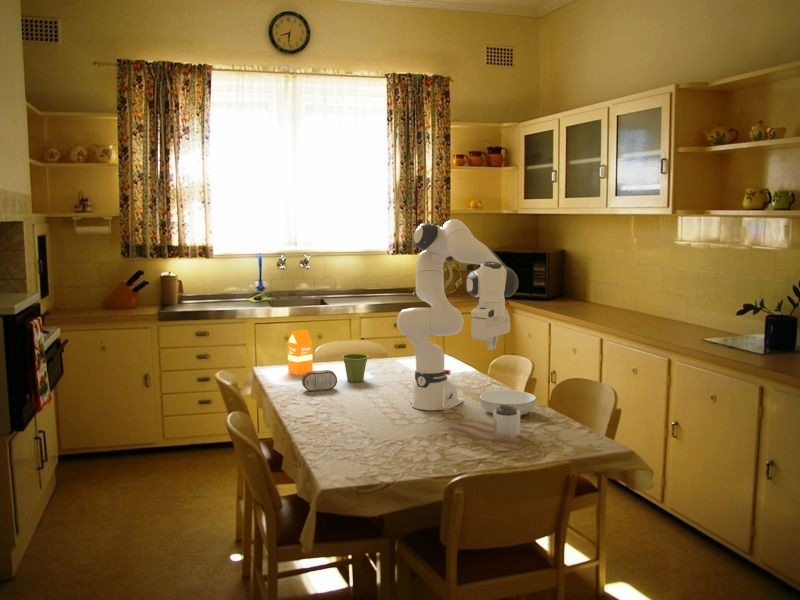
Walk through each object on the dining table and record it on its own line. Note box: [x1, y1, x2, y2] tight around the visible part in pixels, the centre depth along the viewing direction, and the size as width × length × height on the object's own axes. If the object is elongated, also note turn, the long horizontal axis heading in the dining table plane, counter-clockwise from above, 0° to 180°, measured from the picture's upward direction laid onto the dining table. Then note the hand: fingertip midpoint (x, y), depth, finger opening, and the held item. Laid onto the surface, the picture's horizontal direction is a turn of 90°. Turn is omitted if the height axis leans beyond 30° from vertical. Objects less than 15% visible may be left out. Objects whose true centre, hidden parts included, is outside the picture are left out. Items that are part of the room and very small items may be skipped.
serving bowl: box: [479, 389, 537, 416], centre depth 283 cm, size 21×21×7 cm
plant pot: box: [341, 353, 370, 383], centre depth 338 cm, size 12×12×11 cm
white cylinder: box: [492, 409, 521, 439], centre depth 252 cm, size 9×9×8 cm
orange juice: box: [287, 329, 314, 375], centre depth 356 cm, size 8×9×20 cm
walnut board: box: [444, 419, 534, 445], centre depth 257 cm, size 16×26×2 cm, turn 52°
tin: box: [301, 369, 338, 392], centre depth 321 cm, size 15×3×8 cm, turn 108°
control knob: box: [496, 404, 517, 415], centre depth 252 cm, size 7×7×5 cm
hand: (491, 349), depth 259 cm, fingers closed
